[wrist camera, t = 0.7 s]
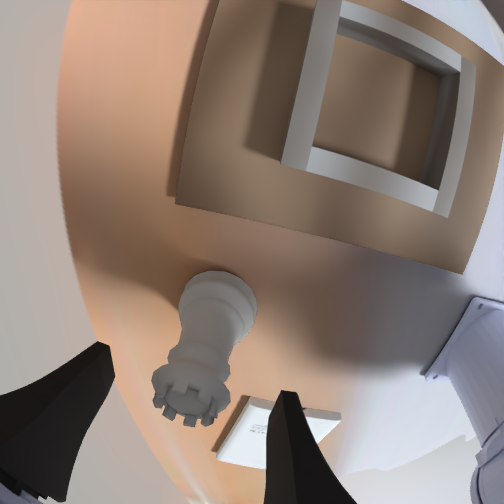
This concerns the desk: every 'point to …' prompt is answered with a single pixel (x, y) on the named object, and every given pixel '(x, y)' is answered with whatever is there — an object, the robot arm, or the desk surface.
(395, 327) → the desk surface
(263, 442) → the external hard drive
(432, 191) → the socket board
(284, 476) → the robot arm
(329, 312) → the desk surface
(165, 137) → the desk surface
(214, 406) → the rook chess piece
